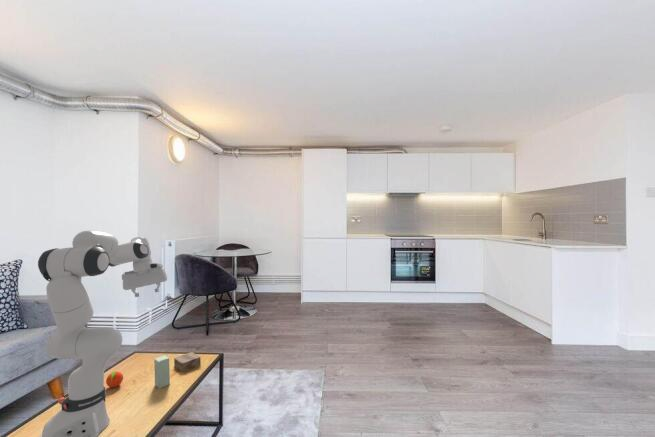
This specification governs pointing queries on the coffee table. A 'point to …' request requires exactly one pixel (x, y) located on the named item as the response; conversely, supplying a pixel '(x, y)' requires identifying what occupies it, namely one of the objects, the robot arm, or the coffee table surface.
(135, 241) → the robot arm
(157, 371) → the sage block
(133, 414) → the coffee table surface
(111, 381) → the red tomato
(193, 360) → the walnut block
